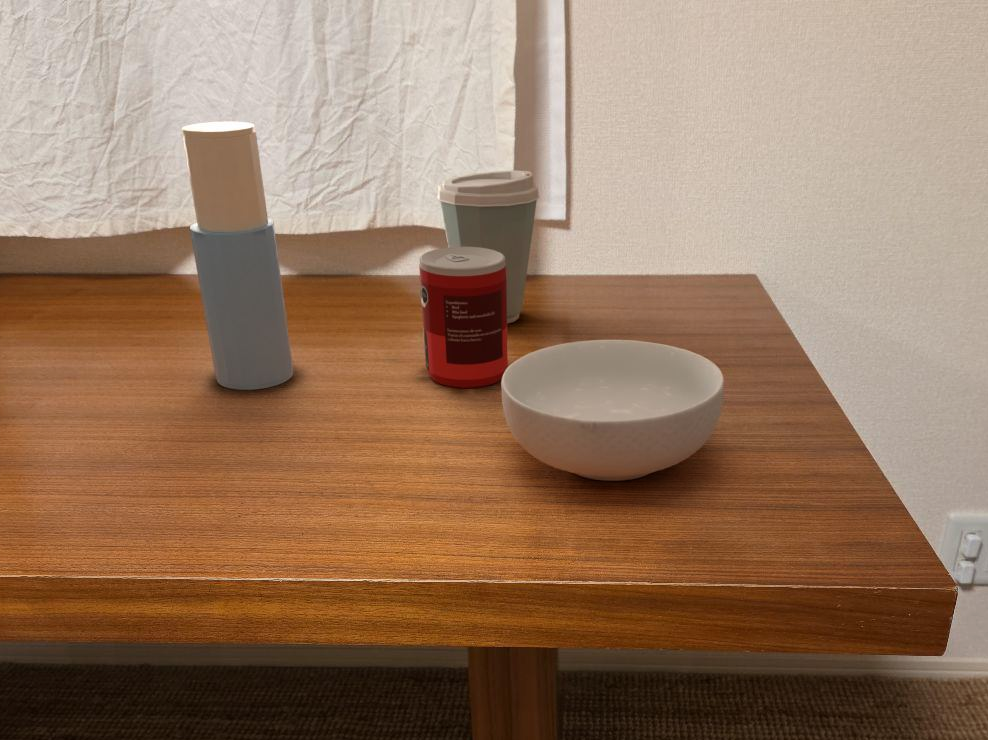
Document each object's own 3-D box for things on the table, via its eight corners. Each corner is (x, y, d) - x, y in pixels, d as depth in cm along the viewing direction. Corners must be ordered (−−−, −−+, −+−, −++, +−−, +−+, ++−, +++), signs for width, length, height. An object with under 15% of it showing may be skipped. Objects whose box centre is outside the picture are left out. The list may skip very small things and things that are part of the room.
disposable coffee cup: (433, 331, 106) (424, 182, 99) (452, 301, 116) (446, 163, 108) (533, 334, 105) (532, 184, 98) (544, 303, 114) (544, 165, 107)
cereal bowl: (569, 402, 89) (570, 325, 85) (748, 442, 82) (758, 359, 78) (460, 477, 76) (455, 389, 73) (660, 531, 69) (666, 437, 65)
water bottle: (250, 395, 91) (217, 188, 82) (201, 379, 94) (164, 178, 85) (308, 373, 96) (283, 174, 87) (259, 358, 99) (230, 166, 90)
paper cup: (228, 235, 85) (212, 133, 81) (184, 226, 88) (167, 127, 84) (281, 222, 89) (268, 125, 85) (237, 214, 92) (223, 119, 88)
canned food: (460, 354, 100) (455, 242, 94) (525, 370, 96) (523, 254, 90) (408, 377, 95) (399, 259, 89) (475, 395, 91) (470, 273, 85)
